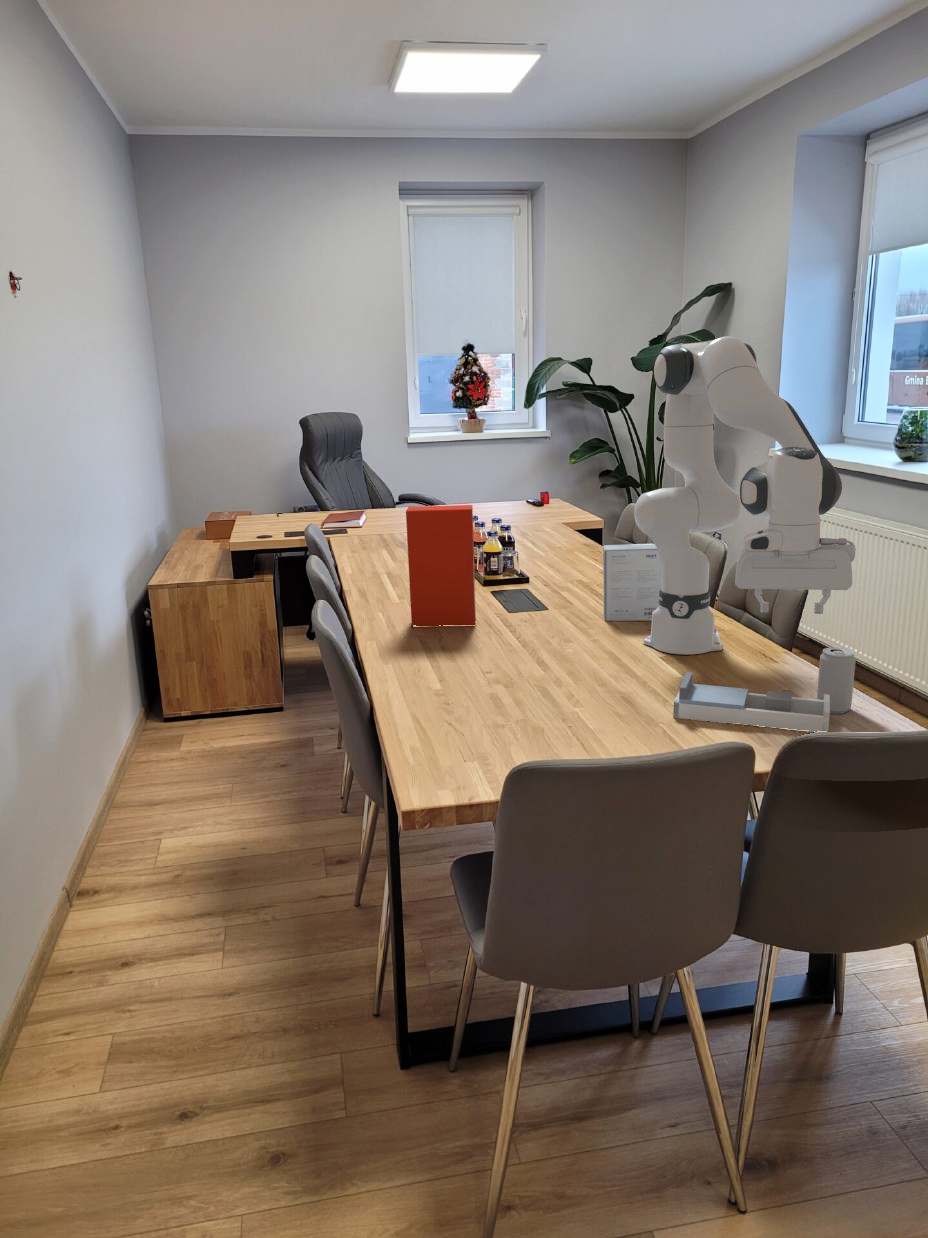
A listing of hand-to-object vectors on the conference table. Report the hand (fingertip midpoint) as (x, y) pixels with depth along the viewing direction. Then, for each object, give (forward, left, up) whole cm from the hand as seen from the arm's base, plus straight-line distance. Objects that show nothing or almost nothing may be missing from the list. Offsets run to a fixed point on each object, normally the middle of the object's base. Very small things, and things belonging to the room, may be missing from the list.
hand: (791, 612), depth 163 cm
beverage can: (-9, +9, -22) cm, 25 cm away
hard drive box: (-65, -42, -22) cm, 80 cm away
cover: (0, -13, -18) cm, 22 cm away
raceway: (0, -6, -21) cm, 22 cm away
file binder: (-46, -90, -22) cm, 104 cm away
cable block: (0, -1, -22) cm, 22 cm away
